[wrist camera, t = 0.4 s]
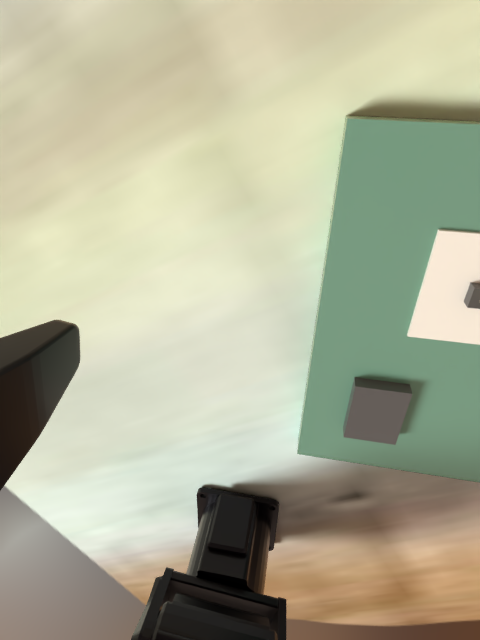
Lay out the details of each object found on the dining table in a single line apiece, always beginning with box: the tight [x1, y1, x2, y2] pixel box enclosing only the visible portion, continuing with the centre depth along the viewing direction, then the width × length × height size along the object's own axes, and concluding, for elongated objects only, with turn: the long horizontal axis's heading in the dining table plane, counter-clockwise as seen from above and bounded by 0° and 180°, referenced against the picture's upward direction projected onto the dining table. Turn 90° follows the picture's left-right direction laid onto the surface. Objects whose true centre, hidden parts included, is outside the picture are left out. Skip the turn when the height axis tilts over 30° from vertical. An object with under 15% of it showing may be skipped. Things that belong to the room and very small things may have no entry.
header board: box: [297, 116, 480, 482], centre depth 20 cm, size 20×14×3 cm
